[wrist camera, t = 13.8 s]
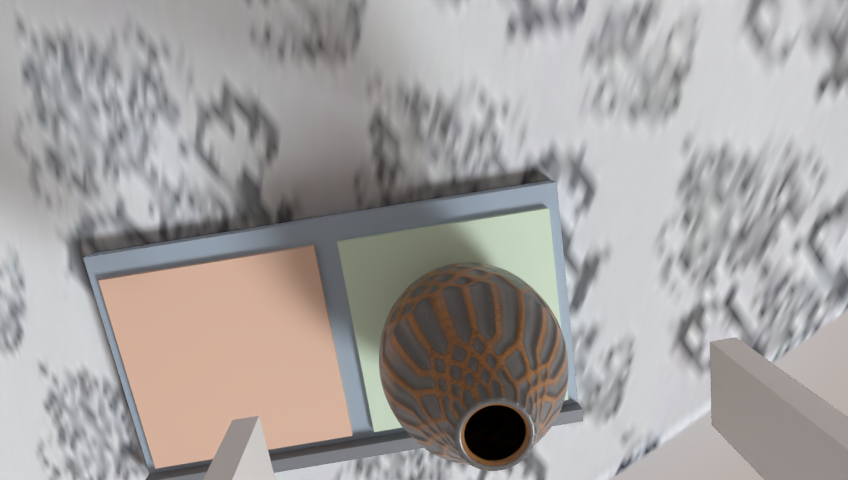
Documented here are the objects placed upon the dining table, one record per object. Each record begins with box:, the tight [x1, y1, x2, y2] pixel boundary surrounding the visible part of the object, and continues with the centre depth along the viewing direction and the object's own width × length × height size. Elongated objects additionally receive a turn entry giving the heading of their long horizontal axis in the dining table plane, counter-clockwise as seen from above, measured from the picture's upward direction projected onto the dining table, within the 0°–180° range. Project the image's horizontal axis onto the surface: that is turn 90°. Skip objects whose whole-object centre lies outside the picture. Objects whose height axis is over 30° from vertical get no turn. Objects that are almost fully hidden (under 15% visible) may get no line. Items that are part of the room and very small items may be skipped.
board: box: [83, 180, 583, 480], centre depth 25 cm, size 11×20×1 cm, turn 99°
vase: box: [379, 262, 568, 471], centre depth 20 cm, size 7×7×9 cm
